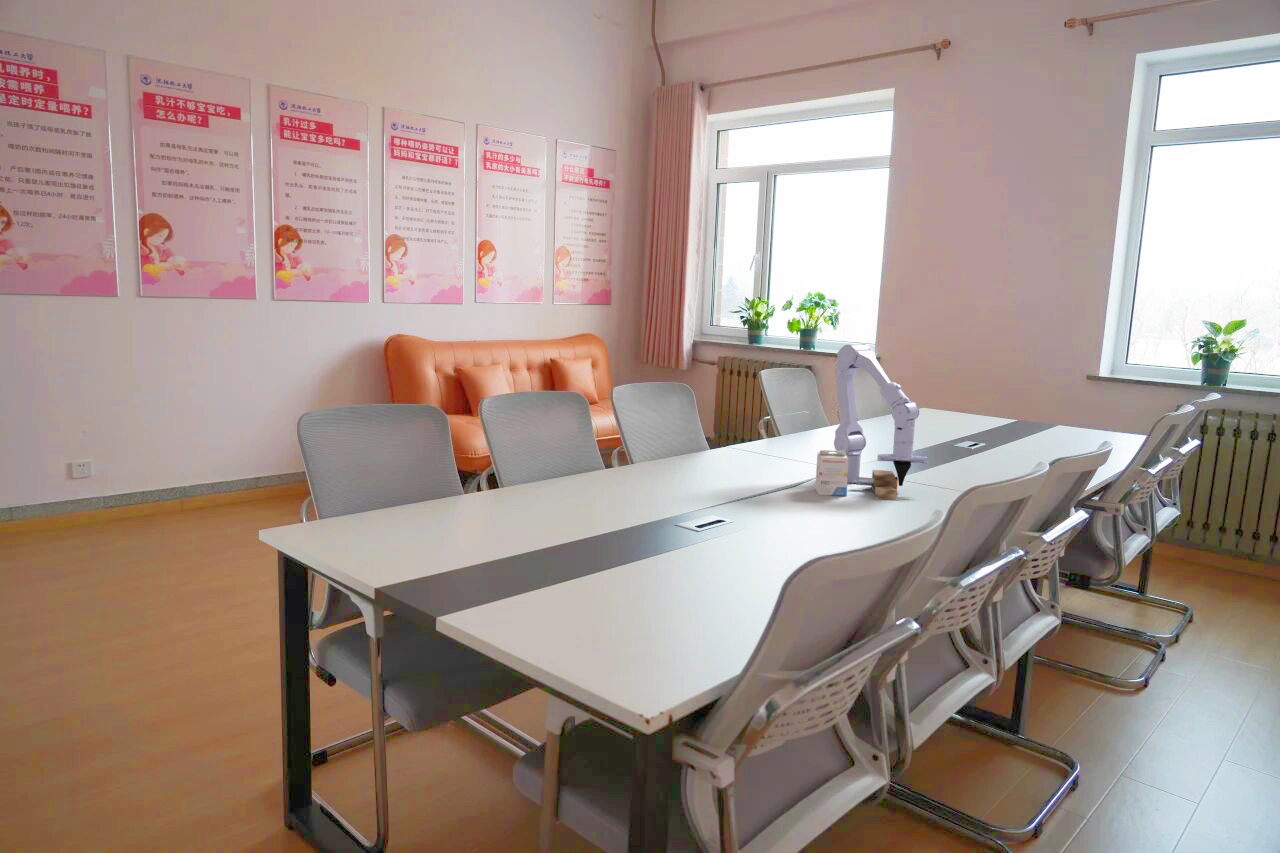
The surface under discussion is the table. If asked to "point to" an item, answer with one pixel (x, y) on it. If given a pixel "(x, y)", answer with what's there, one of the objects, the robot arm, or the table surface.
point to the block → (885, 492)
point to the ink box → (832, 473)
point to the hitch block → (883, 479)
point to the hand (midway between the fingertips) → (900, 485)
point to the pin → (870, 481)
